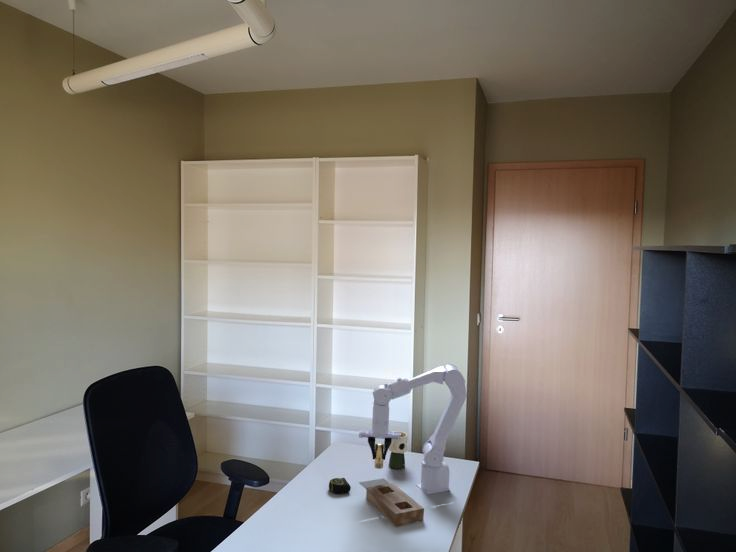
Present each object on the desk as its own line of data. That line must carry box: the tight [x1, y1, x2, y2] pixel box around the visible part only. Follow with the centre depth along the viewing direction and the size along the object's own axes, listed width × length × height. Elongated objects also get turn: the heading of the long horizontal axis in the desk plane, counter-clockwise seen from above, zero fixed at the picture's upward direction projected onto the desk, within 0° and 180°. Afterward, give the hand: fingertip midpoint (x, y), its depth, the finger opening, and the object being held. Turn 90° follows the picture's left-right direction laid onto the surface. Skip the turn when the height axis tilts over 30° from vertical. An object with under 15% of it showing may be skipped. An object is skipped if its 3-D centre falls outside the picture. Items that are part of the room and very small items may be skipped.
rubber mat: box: [358, 477, 390, 491], centre depth 203 cm, size 10×10×1 cm
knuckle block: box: [365, 482, 425, 528], centre depth 187 cm, size 10×20×4 cm, turn 27°
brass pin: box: [374, 442, 384, 470], centre depth 203 cm, size 3×3×8 cm
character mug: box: [388, 430, 408, 470], centre depth 221 cm, size 11×7×13 cm, turn 144°
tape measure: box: [328, 477, 351, 495], centre depth 199 cm, size 7×7×4 cm
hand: (379, 458), depth 203 cm, fingers closed on brass pin, 3 cm apart
